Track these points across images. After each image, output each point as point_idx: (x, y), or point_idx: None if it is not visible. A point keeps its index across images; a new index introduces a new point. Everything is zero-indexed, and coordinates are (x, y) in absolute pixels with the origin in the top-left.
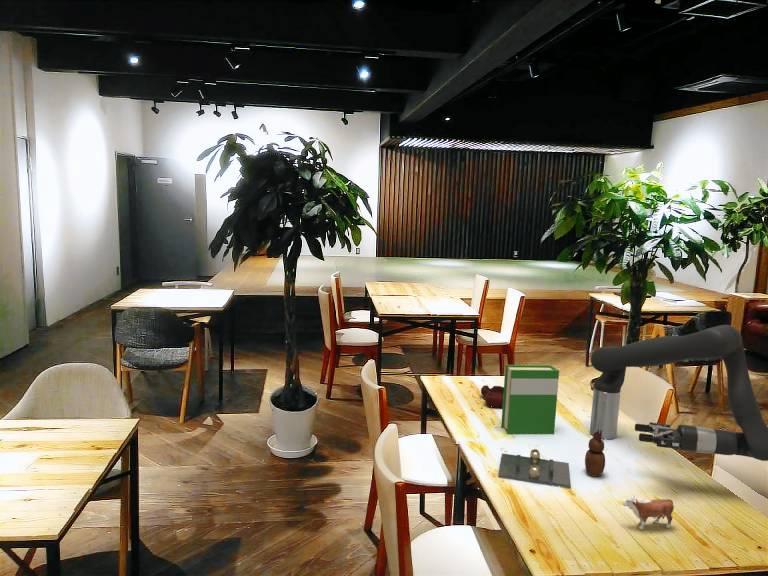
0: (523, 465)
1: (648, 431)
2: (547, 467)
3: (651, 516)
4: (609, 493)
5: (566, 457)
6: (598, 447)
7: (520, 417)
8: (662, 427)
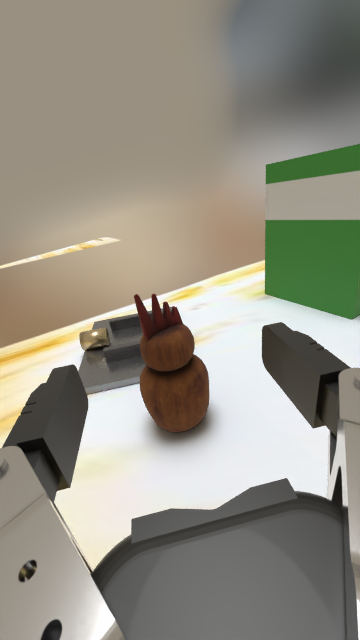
0: (138, 328)
1: (330, 427)
2: None
3: None
4: None
5: (240, 359)
6: (141, 350)
7: (283, 267)
8: (357, 521)
